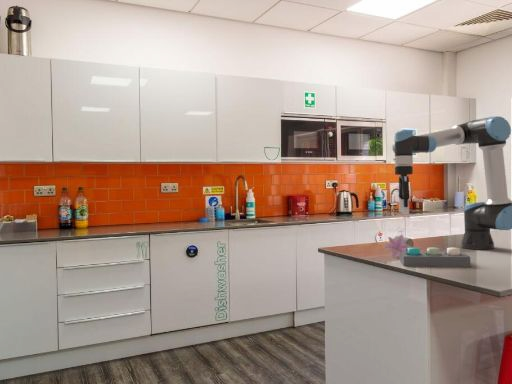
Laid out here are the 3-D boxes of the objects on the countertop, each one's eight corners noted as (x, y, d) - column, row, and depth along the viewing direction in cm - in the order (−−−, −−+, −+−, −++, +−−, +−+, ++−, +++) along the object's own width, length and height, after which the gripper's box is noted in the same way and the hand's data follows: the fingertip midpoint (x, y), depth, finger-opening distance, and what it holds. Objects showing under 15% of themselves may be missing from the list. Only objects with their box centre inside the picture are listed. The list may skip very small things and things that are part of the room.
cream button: (458, 256, 186) (458, 247, 186) (461, 259, 181) (461, 249, 181) (445, 256, 187) (445, 247, 187) (448, 258, 182) (448, 249, 182)
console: (462, 261, 189) (462, 252, 189) (470, 266, 178) (470, 256, 178) (399, 260, 194) (399, 251, 194) (403, 265, 183) (403, 256, 182)
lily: (379, 259, 205) (383, 243, 200) (384, 246, 214) (389, 230, 209) (404, 268, 200) (410, 252, 195) (409, 254, 209) (414, 238, 204)
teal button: (418, 256, 189) (418, 247, 189) (420, 258, 185) (420, 249, 184) (406, 256, 190) (406, 247, 190) (408, 258, 185) (408, 249, 185)
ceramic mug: (407, 253, 212) (407, 237, 211) (391, 251, 217) (391, 236, 217) (417, 251, 219) (417, 235, 219) (402, 249, 225) (402, 234, 225)
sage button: (438, 256, 188) (438, 247, 188) (441, 258, 183) (440, 249, 183) (426, 256, 189) (426, 247, 189) (428, 258, 184) (428, 249, 184)
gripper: (392, 166, 206) (392, 211, 207) (397, 164, 182) (397, 215, 182) (409, 166, 205) (409, 211, 205) (416, 164, 180) (416, 215, 181)
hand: (403, 213), depth 194 cm, fingers open, 13 cm apart
